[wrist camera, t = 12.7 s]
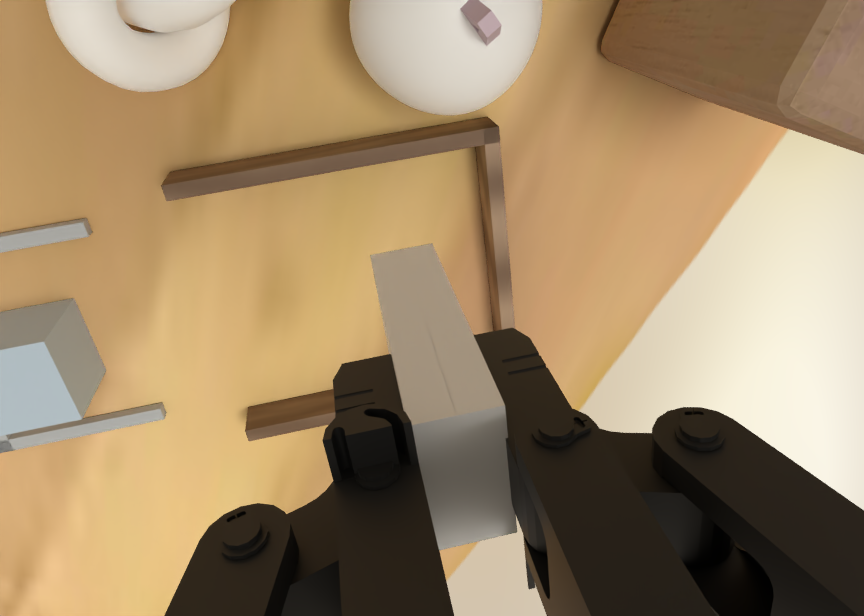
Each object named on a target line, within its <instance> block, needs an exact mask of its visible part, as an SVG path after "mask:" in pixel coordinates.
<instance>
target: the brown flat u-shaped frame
mask: <svg viewBox="0 0 864 616" xmlns="http://www.w3.org/2000/svg"><path fill="white" fill-rule="evenodd" d="M470 147H476V157H477V167H478V177H479V187H480V197H481V207H482V217H483V227H484V237H485V248H486V258H487V268H488V278H489V288H490V298H491V308H492V318H493V328H494V331H497V330H502V329H507V328H512V327H513V328H514V329H515V321H514V309H513V296H512V284H511V272H510V259H509V247H508V235H507V222H506V210H505V197H504V185H503V173H502V160H501V148H500V135H499V126H498V125H496V124H495V123H494V122H493V121H492V120H491V119H489V118H488V117H483V118H477V119H472V120H466V121H460V122H454V123H449V124H443V125H437V126H431V127H426V128H420V129H414V130H408V131H403V132H397V133H391V134H385V135H380V136H374V137H368V138H362V139H357V140H351V141H345V142H339V143H334V144H328V145H322V146H316V147H311V148H305V149H299V150H293V151H288V152H282V153H276V154H270V155H265V156H259V157H253V158H247V159H242V160H236V161H230V162H224V163H219V164H213V165H207V166H201V167H196V168H190V169H184V170H178V171H173V172H170V173H169V174H168V176H167V178H166V179H165V181H164V182H163V184H162V185H161V187H162V190H163V193H164V195H165V198H166V201H172V200H177V199H183V198H189V197H194V196H200V195H205V194H211V193H217V192H222V191H228V190H234V189H239V188H245V187H250V186H256V185H262V184H267V183H273V182H279V181H284V180H290V179H295V178H301V177H307V176H312V175H318V174H324V173H329V172H335V171H341V170H346V169H352V168H357V167H363V166H369V165H374V164H380V163H386V162H391V161H397V160H402V159H408V158H414V157H419V156H425V155H431V154H436V153H442V152H447V151H453V150H459V149H464V148H470ZM334 400H335V399H334V389H333V390H329V391H324V392H319V393H314V394H309V395H304V396H300V397H295V398H290V399H285V400H280V401H275V402H270V403H266V404H261V405H256V406H251V407H248V413H247V421H246V429H245V432H246V435H247V438H248V441H253V440H257V439H262V438H267V437H272V436H276V435H281V434H286V433H291V432H295V431H300V430H305V429H310V428H314V427H319V426H324V425H329V424H330V423H331V422H332V421H333V420H334V418H335V414H336V413H335V404H334Z"/></svg>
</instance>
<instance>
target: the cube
mask: <svg viewBox="0 0 864 616" xmlns="http://www.w3.org/2000/svg"><path fill="white" fill-rule="evenodd" d="M105 372H106V368H105V366H104V364H103V362H102V359H101V357H100V355H99V353H98V350H97V348H96V346H95V344H94V342H93V339H92V337H91V335H90V333H89V330H88V328H87V326H86V324H85V321H84V319H83V317H82V315H81V313H80V310H79V308H78V306H77V304H76V301H75V299H74V298H72V299H66V300H61V301H56V302H51V303H45V304H40V305H35V306H29V307H24V308H19V309H14V310H8V311H3V312H0V436H3V435H8V434H13V433H18V432H23V431H28V430H32V429H37V428H42V427H47V426H52V425H57V424H62V423H67V422H72V421H77V420H81V419H83V417H84V414H85V412H86V410H87V408H88V406H89V404H90V402H91V400H92V398H93V396H94V394H95V392H96V390H97V388H98V386H99V384H100V382H101V380H102V378H103V376H104V374H105Z"/></svg>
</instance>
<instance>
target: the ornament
mask: <svg viewBox="0 0 864 616" xmlns="http://www.w3.org/2000/svg"><path fill="white" fill-rule="evenodd" d="M541 19H542V0H350V10H349V22H350V32H351V37H352V42H353V45H354V48H355V51H356V53H357V56H358V58H359V60H360V62H361V63H362V65H363V67H364V68H365V70H366V71H367V73H368V74H369V75H370V76H371V78H372V79H373V80H374V81H375V82H376V83H377V84H378V85H379V86H380V87H381V88H382V89H383V90H384V91H386V92H387V93H388V94H389V95H391V96H392V97H394V98H395V99H397V100H398V101H400V102H402V103H404V104H406V105H408V106H410V107H412V108H415V109H417V110H420V111H423V112H427V113H431V114H437V115H460V114H466V113H470V112H473V111H476V110H479V109H481V108H483V107H485V106H487V105H488V104H490V103H492V102H493V101H495V100H496V99H497V98H499V97H500V96H501V95H502V94H503V93H505V92H506V91H507V90H508V89H509V88H510V87H511V85H512V84H513V83H514V82H515V81H516V79H517V78H518V77H519V75H520V74H521V73H522V71H523V70H524V68H525V66H526V65H527V63H528V61H529V59H530V57H531V55H532V52H533V50H534V47H535V45H536V42H537V38H538V35H539V31H540V26H541Z"/></svg>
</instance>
